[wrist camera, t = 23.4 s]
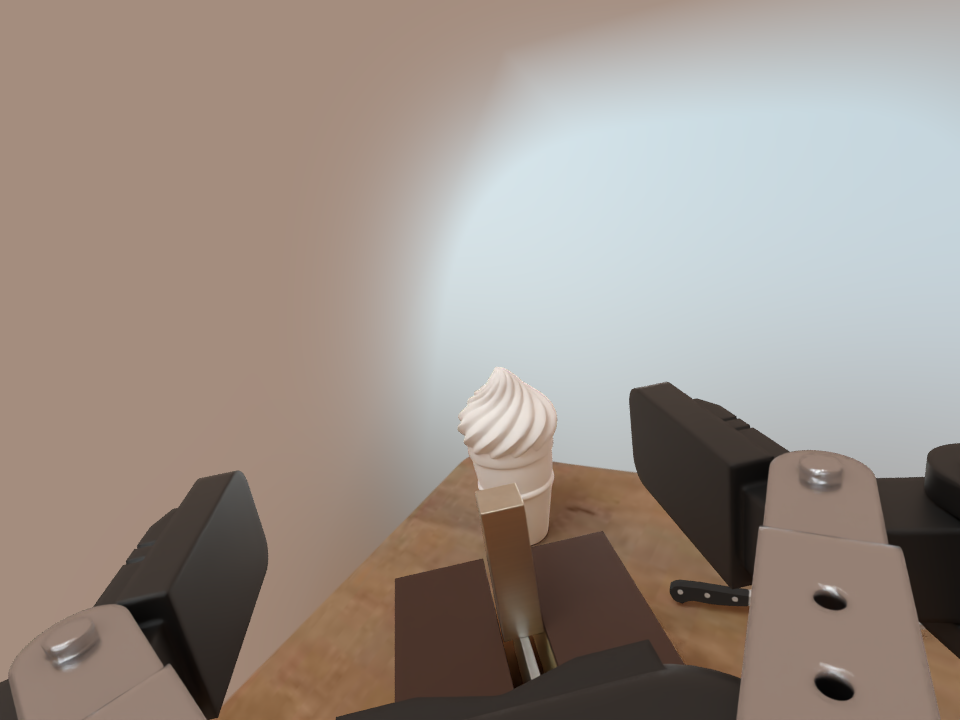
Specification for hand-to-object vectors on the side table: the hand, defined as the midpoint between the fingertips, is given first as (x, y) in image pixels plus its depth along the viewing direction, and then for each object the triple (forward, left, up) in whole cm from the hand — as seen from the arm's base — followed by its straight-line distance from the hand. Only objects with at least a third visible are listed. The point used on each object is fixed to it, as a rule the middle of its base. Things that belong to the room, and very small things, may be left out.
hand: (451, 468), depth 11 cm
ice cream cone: (-16, +28, -25) cm, 41 cm away
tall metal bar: (-8, +12, -25) cm, 29 cm away
